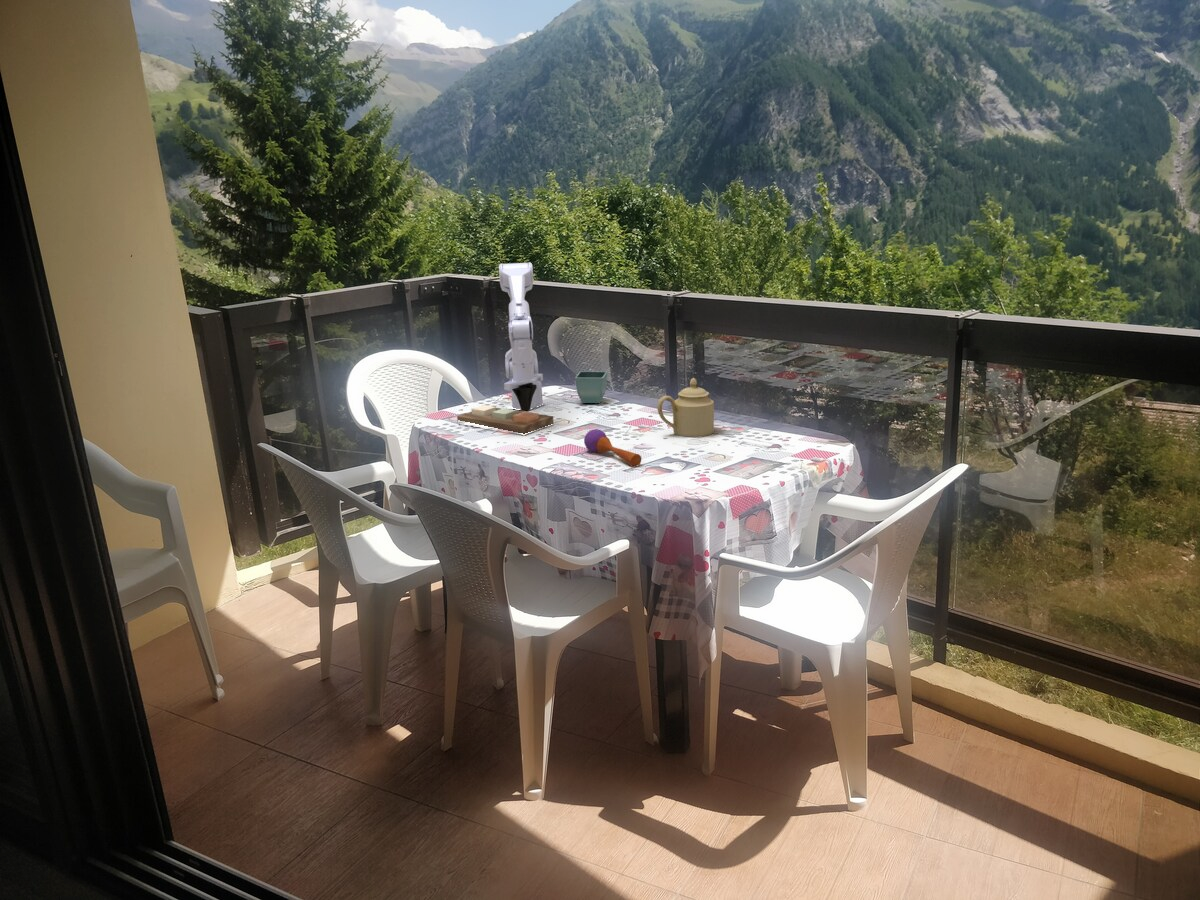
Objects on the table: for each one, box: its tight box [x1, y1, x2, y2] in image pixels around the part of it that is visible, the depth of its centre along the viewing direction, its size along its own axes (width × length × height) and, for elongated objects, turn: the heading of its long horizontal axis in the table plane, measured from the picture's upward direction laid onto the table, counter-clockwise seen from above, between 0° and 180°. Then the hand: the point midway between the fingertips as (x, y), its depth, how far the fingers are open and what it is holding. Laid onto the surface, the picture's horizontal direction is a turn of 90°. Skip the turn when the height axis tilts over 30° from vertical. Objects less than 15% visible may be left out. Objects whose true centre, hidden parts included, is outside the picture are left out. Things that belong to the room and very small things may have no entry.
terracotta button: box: [513, 411, 539, 423], centre depth 268 cm, size 5×5×2 cm
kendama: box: [583, 428, 642, 467], centre depth 239 cm, size 6×6×20 cm
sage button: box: [492, 407, 518, 420], centre depth 273 cm, size 5×5×2 cm
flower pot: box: [574, 370, 608, 404], centre depth 294 cm, size 9×9×9 cm
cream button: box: [470, 404, 497, 416], centre depth 277 cm, size 5×5×2 cm
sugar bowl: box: [656, 377, 715, 438], centre depth 256 cm, size 15×11×15 cm
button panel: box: [456, 407, 554, 434], centre depth 273 cm, size 13×25×2 cm, turn 54°
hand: (525, 410), depth 268 cm, fingers closed
